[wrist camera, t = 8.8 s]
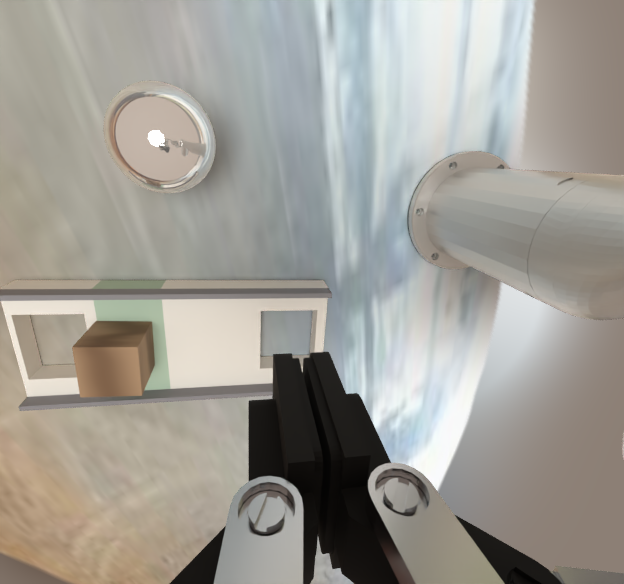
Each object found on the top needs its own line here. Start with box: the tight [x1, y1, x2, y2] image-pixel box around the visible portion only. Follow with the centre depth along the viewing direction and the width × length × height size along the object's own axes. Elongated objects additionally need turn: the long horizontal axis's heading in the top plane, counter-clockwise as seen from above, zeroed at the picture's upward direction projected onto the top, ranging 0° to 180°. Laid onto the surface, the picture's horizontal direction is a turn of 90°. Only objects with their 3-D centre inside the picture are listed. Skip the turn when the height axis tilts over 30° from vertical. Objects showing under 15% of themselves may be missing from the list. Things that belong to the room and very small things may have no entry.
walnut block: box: [72, 321, 155, 397], centre depth 32 cm, size 5×5×5 cm
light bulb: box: [103, 80, 216, 193], centre depth 26 cm, size 7×7×12 cm
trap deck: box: [0, 280, 332, 411], centre depth 36 cm, size 30×12×4 cm, turn 87°
